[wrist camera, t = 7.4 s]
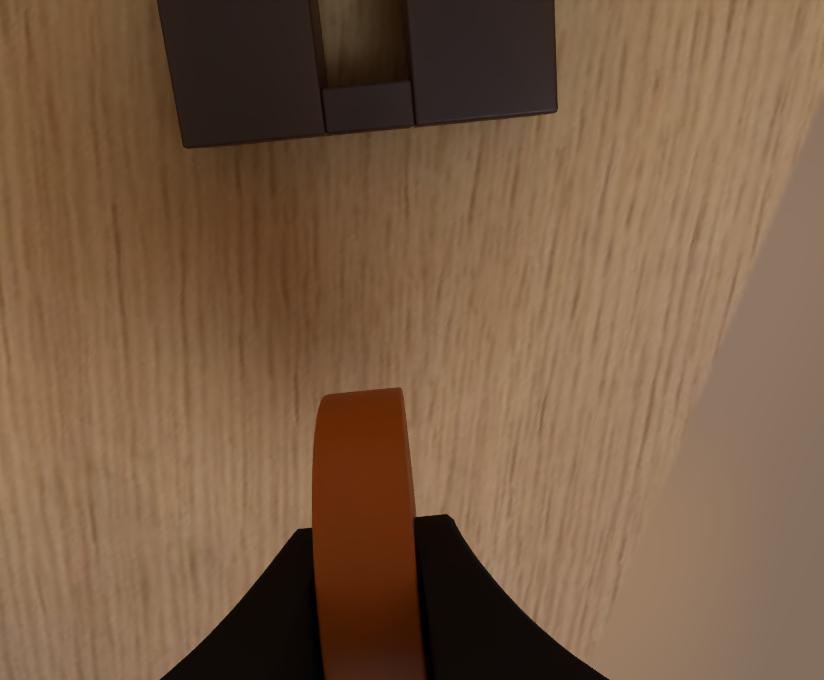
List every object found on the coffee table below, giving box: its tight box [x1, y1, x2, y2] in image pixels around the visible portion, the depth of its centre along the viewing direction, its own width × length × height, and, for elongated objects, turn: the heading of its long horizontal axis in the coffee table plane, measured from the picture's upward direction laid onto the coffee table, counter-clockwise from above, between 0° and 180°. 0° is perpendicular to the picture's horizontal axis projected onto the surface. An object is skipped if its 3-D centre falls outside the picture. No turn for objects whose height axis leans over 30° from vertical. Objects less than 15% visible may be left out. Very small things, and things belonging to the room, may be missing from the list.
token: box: [312, 387, 429, 680], centre depth 12 cm, size 1×6×6 cm, turn 5°
